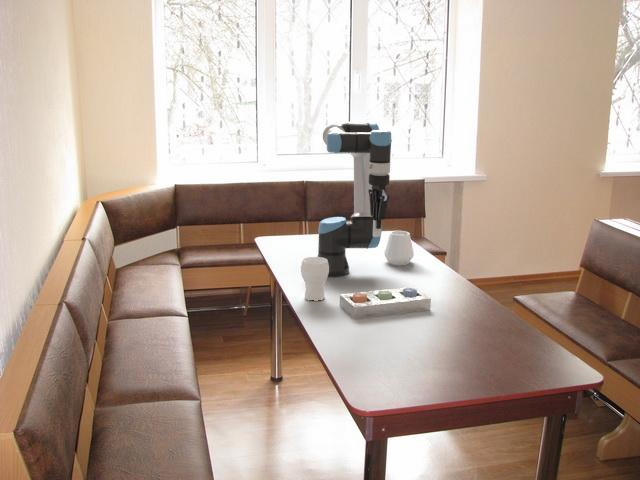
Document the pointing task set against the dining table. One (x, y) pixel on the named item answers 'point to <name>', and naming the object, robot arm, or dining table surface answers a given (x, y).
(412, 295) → the button slate
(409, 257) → the white vase
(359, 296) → the button terracotta
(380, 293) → the button sage
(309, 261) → the cup
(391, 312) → the panel
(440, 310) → the dining table surface
